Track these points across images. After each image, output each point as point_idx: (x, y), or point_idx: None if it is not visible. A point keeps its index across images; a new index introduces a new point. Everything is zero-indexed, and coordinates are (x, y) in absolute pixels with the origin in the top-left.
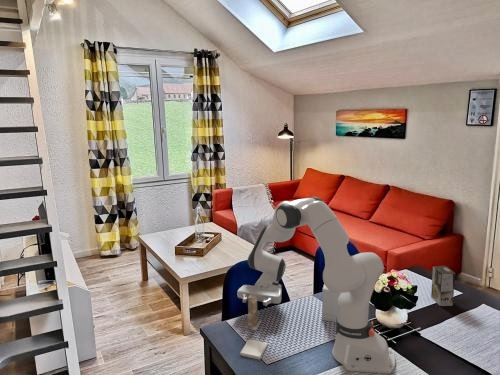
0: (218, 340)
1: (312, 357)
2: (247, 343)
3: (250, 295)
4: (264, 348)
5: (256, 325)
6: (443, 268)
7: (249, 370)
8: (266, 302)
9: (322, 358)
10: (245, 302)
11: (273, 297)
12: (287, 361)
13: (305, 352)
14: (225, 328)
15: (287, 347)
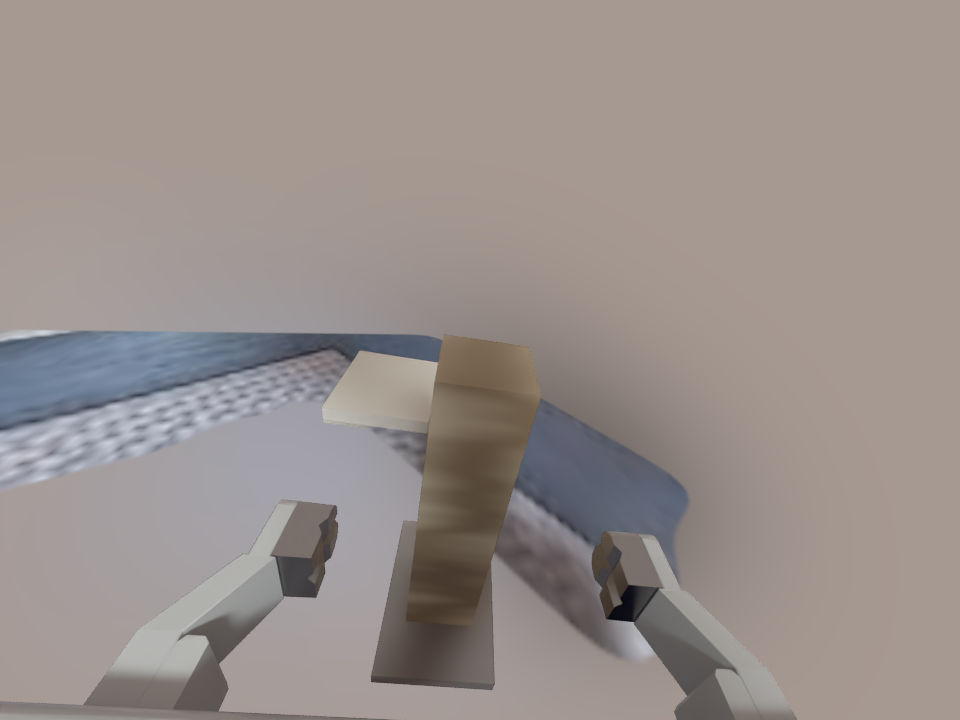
0: (570, 429)
1: (91, 372)
2: (427, 399)
3: (525, 379)
4: (340, 380)
5: (409, 573)
6: None
7: (393, 334)
8: (277, 507)
9: (32, 369)
10: (596, 555)
11: (14, 707)
12: (242, 356)
13: (108, 394)
14: (609, 518)
15: (206, 415)
